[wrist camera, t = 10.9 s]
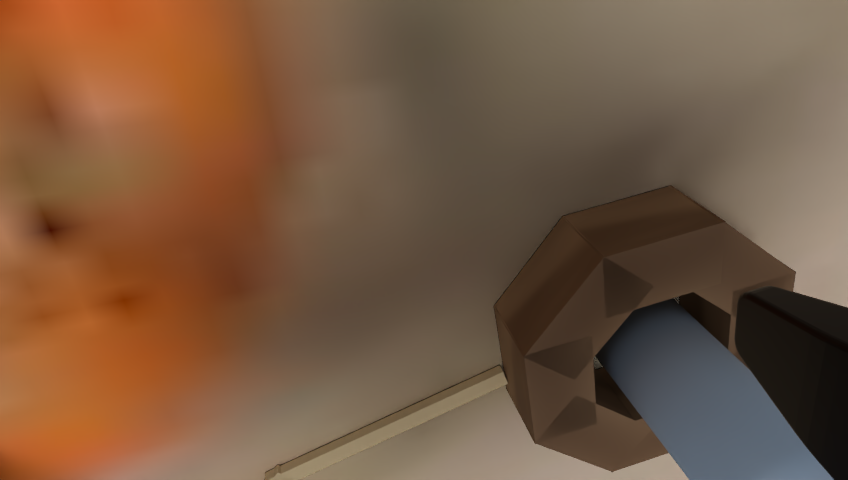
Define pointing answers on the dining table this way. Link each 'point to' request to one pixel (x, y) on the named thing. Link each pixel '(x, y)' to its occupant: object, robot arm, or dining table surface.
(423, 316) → the dining table surface
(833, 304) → the robot arm
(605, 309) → the bead
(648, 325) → the tapered blue cylinder
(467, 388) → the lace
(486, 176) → the dining table surface
